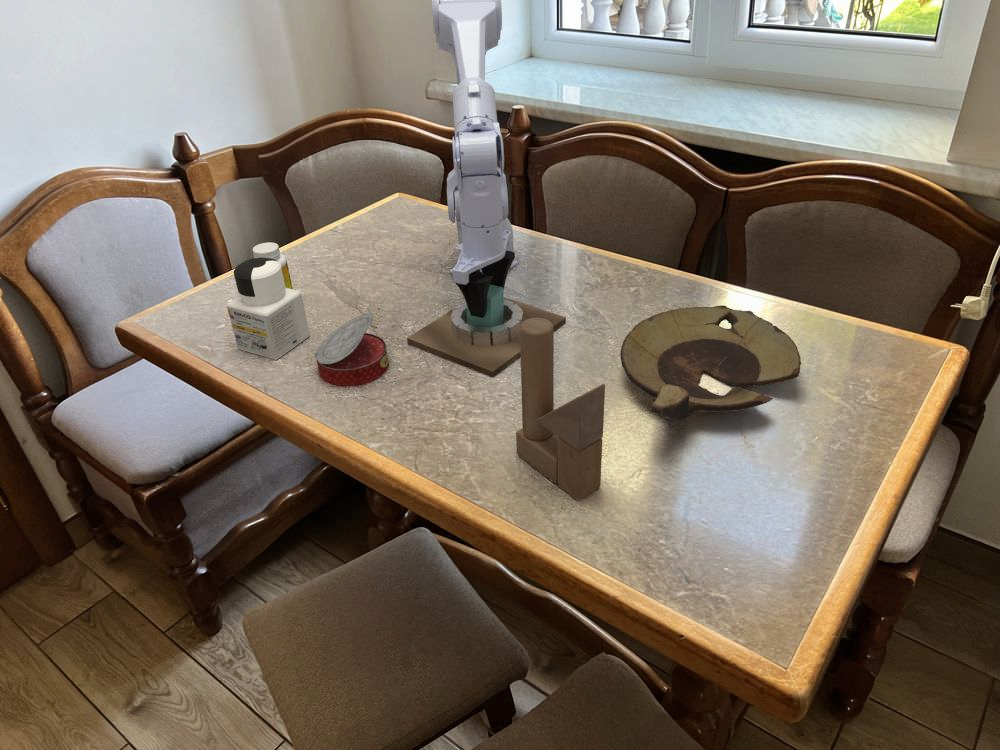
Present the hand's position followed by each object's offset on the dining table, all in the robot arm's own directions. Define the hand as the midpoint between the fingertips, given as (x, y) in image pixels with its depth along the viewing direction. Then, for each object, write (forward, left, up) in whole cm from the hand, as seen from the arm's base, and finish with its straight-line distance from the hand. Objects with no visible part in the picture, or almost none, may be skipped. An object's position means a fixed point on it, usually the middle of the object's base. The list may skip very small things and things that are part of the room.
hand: (486, 307), depth 113 cm
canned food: (+18, -10, -5) cm, 21 cm away
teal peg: (0, 0, -3) cm, 3 cm away
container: (+20, -25, -5) cm, 32 cm away
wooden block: (+20, +26, -5) cm, 33 cm away
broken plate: (-4, +31, -5) cm, 32 cm away
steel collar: (0, 0, -4) cm, 4 cm away
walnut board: (0, 0, -4) cm, 4 cm away
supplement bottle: (+12, -34, -5) cm, 36 cm away
